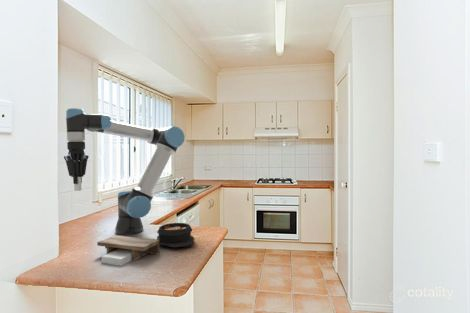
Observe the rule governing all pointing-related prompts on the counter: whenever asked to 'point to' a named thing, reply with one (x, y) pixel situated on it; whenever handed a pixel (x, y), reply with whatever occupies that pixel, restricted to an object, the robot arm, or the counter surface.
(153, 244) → the low shelf
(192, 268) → the counter surface
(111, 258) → the plastic case
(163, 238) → the casserole
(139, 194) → the robot arm
